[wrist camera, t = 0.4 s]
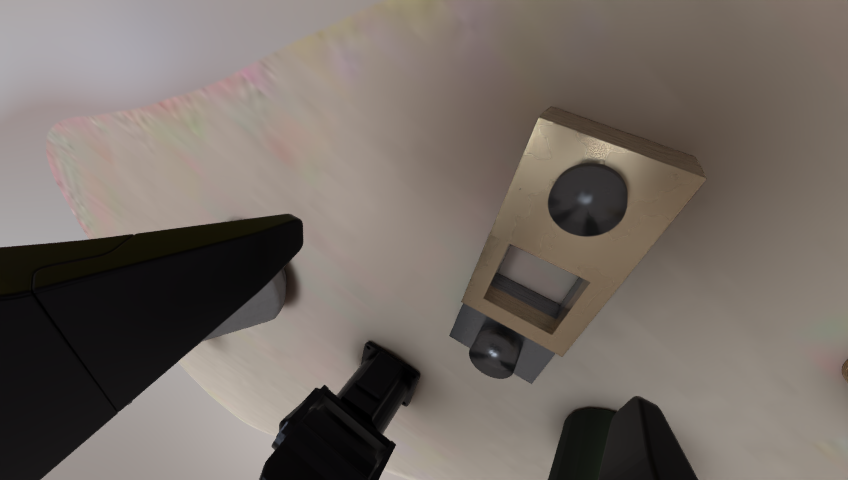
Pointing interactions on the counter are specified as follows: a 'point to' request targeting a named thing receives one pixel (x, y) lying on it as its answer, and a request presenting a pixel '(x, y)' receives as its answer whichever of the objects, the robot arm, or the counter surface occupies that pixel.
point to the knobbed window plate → (569, 237)
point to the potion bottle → (582, 445)
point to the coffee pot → (256, 308)
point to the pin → (845, 370)
